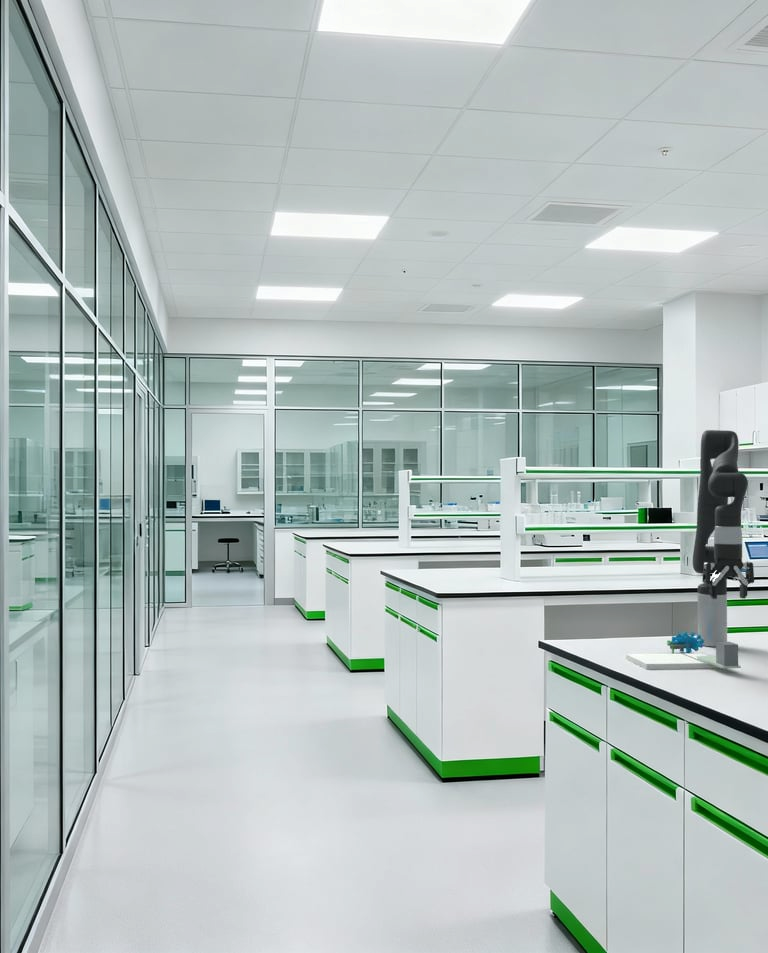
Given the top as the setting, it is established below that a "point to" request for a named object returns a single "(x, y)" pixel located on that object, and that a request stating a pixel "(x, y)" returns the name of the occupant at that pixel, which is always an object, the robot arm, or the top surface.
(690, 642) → the gear
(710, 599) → the robot arm
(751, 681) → the top surface
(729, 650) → the stub
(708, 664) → the ticket board
